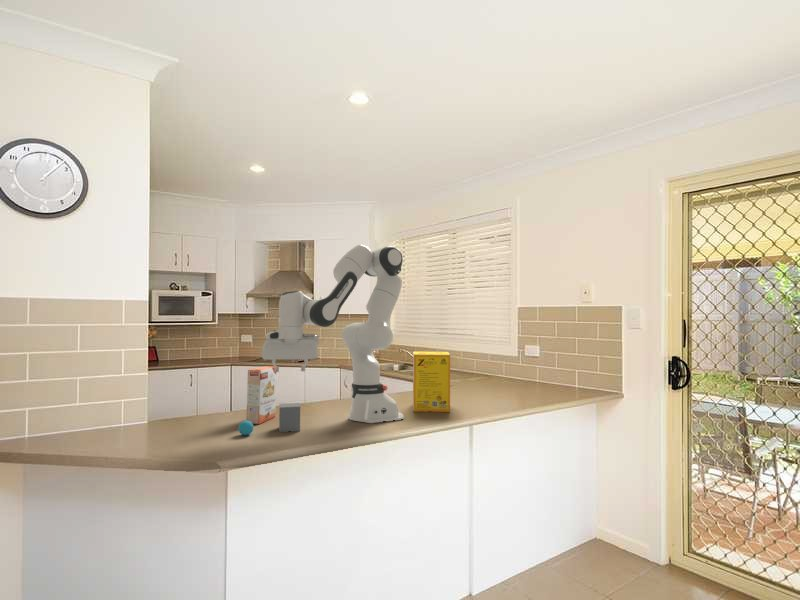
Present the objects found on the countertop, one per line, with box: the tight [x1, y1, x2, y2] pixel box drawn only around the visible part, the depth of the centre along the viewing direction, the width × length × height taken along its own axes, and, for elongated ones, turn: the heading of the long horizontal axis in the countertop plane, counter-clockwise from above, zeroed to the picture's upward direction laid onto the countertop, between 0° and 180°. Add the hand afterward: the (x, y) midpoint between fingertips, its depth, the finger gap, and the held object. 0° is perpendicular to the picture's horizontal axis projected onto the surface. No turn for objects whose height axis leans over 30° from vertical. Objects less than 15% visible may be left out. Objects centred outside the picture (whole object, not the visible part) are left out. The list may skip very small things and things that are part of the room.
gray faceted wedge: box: [278, 402, 301, 433], centre depth 173 cm, size 7×7×9 cm
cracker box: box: [245, 365, 278, 425], centre depth 187 cm, size 14×6×21 cm, turn 168°
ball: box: [238, 420, 254, 436], centre depth 164 cm, size 5×5×5 cm
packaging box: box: [412, 351, 451, 413], centre depth 214 cm, size 16×16×25 cm
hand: (289, 371), depth 173 cm, fingers open, 8 cm apart
